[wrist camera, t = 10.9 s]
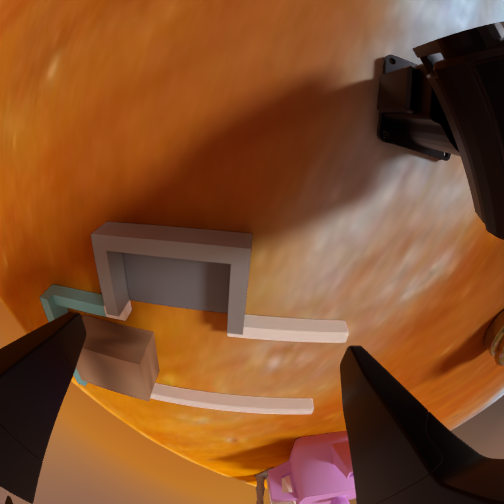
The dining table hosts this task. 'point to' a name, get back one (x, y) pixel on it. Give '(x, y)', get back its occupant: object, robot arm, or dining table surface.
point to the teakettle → (316, 471)
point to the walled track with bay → (187, 297)
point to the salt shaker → (496, 339)
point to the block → (118, 358)
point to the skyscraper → (260, 488)
